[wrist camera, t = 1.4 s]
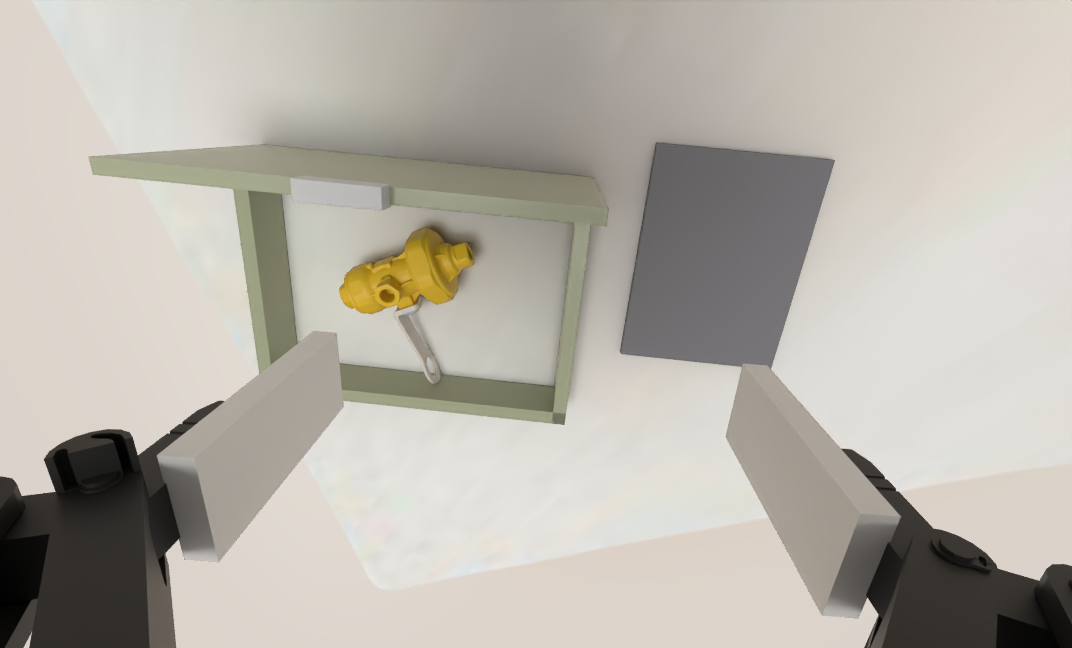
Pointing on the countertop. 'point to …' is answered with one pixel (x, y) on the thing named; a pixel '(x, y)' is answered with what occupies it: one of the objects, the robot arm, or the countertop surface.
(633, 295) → the pad
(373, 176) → the case
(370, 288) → the pressure relief valve
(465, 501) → the countertop surface
